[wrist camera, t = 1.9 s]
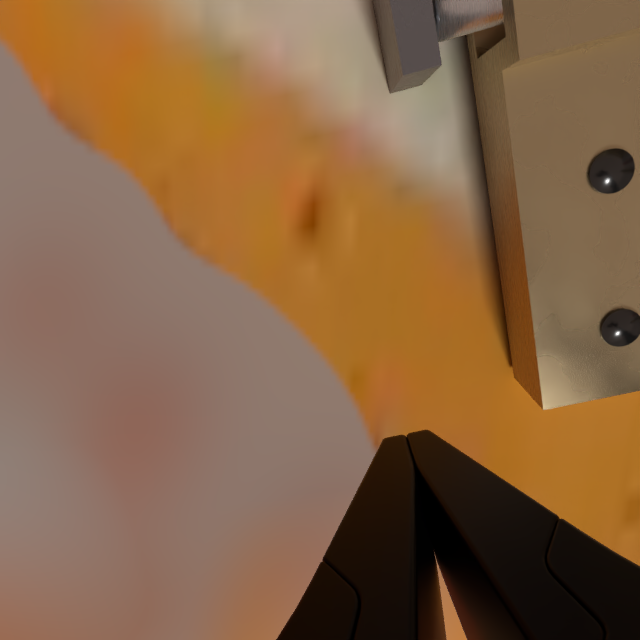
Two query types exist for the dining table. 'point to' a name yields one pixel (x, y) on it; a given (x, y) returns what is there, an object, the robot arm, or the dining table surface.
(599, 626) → the robot arm
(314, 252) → the dining table surface
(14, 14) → the dining table surface
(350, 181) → the dining table surface
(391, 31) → the fixed leaf
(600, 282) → the beige block with rivets
